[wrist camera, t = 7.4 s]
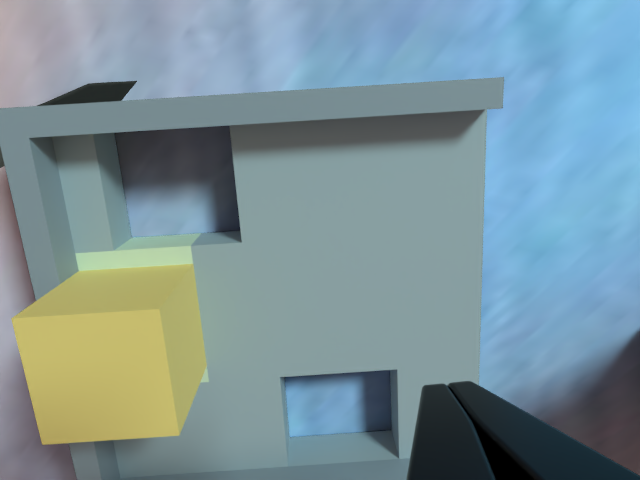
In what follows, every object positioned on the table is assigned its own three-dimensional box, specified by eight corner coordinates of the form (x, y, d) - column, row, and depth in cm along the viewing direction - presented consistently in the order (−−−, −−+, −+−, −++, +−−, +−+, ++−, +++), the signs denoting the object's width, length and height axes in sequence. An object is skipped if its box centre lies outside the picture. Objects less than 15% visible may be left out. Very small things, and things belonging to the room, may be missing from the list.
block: (193, 263, 19) (159, 309, 15) (206, 365, 20) (179, 435, 16) (79, 270, 19) (11, 318, 15) (99, 372, 20) (42, 444, 16)
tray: (469, 83, 19) (504, 77, 16) (462, 442, 24) (488, 497, 21) (46, 109, 19) (-9, 108, 16) (118, 466, 24) (87, 525, 20)
